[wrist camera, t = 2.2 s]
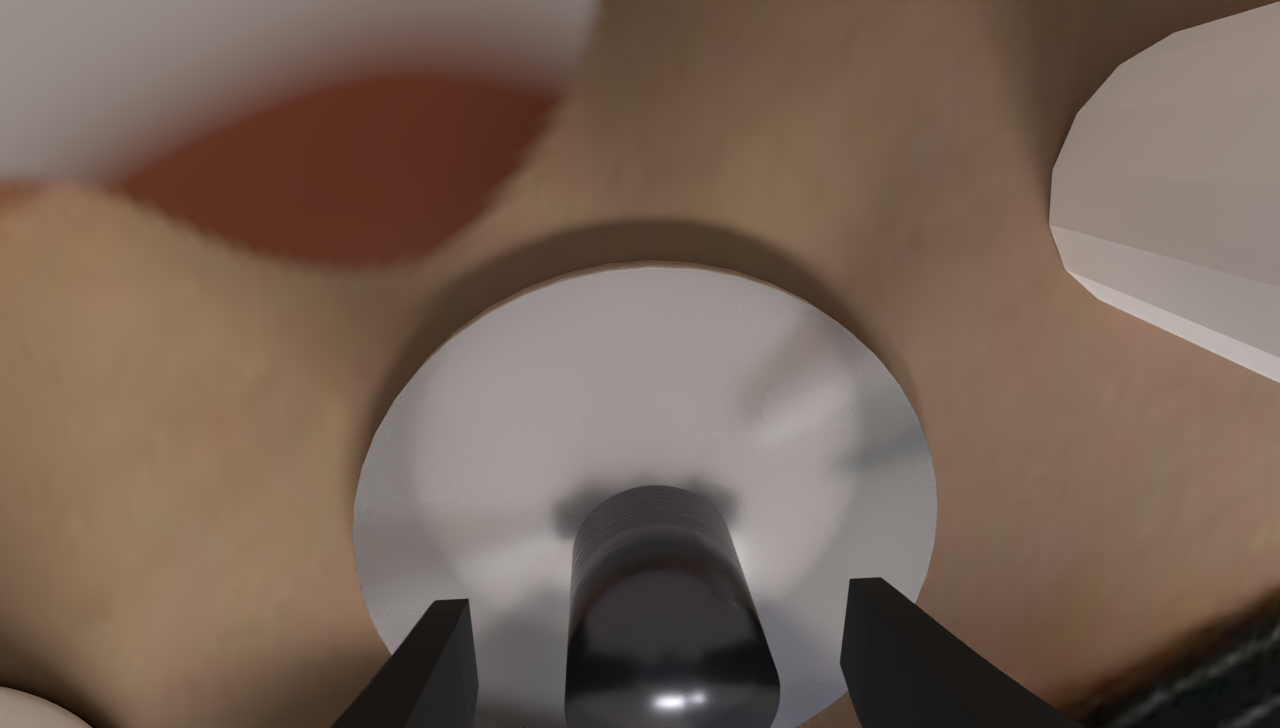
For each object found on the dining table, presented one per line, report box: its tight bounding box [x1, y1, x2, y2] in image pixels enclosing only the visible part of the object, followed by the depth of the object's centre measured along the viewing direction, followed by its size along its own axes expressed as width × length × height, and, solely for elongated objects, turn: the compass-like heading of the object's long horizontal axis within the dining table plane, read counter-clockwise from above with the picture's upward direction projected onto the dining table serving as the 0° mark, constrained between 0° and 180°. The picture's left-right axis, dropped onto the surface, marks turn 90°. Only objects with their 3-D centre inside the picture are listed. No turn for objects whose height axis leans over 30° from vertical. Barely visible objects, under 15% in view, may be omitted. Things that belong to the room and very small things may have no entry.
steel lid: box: [352, 260, 937, 728], centre depth 13 cm, size 13×13×5 cm
